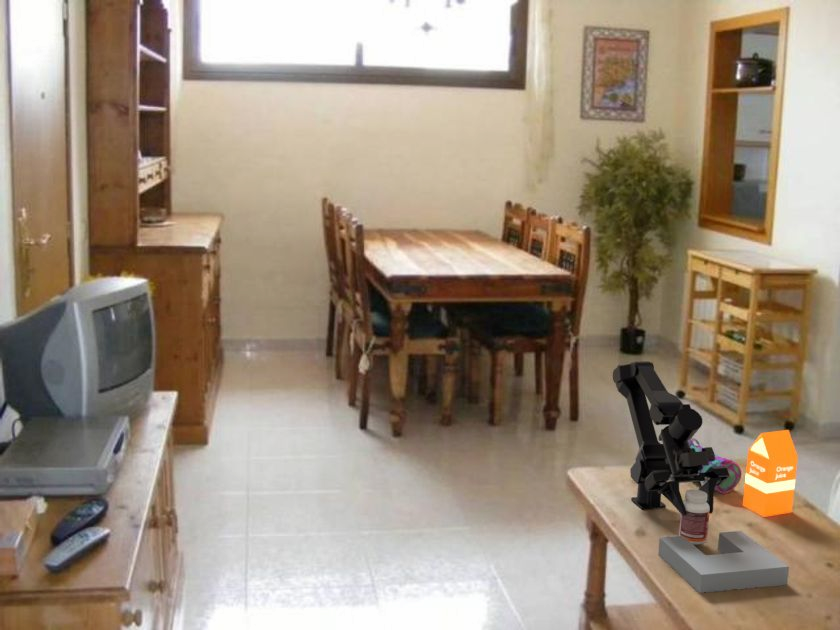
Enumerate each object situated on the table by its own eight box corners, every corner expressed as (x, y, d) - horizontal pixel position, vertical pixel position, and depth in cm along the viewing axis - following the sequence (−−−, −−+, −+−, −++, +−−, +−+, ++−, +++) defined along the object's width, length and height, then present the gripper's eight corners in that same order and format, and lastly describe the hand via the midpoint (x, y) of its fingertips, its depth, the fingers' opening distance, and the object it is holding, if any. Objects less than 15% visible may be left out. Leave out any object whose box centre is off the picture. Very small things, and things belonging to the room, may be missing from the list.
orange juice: (792, 512, 242) (800, 434, 238) (763, 517, 239) (772, 438, 235) (769, 500, 249) (777, 424, 245) (741, 505, 246) (749, 428, 242)
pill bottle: (711, 545, 219) (715, 498, 217) (684, 545, 219) (688, 499, 216) (700, 533, 225) (704, 487, 223) (674, 534, 225) (678, 488, 222)
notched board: (658, 554, 217) (659, 537, 216) (739, 547, 221) (741, 530, 221) (699, 593, 200) (701, 574, 199) (787, 584, 204) (789, 566, 204)
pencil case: (668, 469, 270) (671, 435, 268) (696, 466, 273) (699, 433, 271) (712, 497, 251) (716, 461, 249) (742, 494, 253) (746, 458, 251)
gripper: (654, 436, 219) (674, 502, 210) (729, 432, 223) (752, 497, 215) (635, 458, 228) (654, 522, 220) (709, 453, 232) (729, 516, 224)
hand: (698, 514), depth 219 cm, fingers closed on pill bottle, 6 cm apart
